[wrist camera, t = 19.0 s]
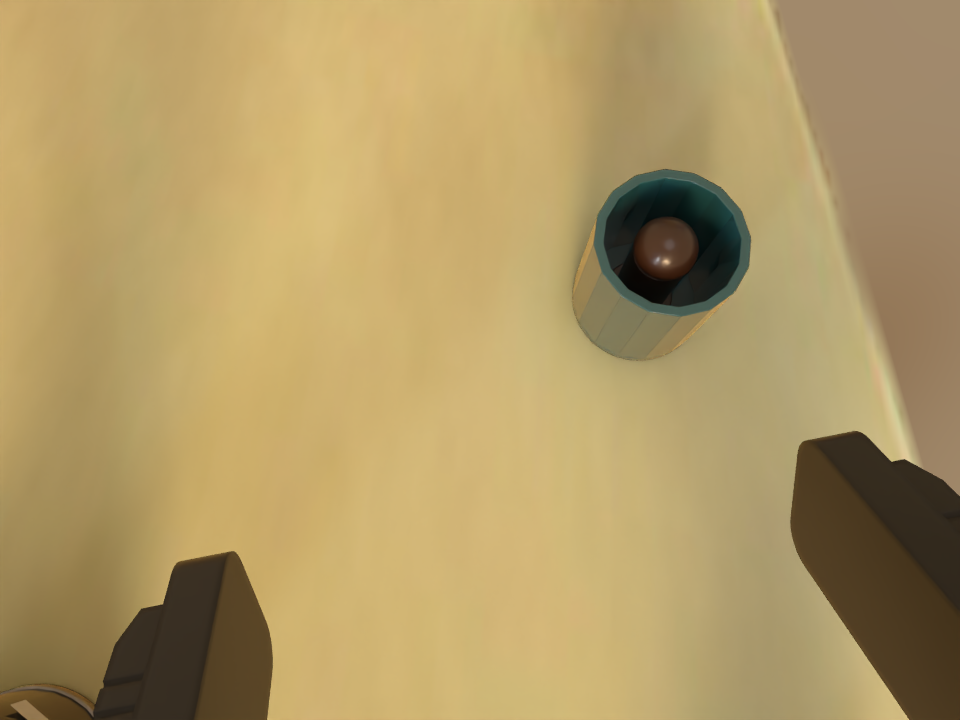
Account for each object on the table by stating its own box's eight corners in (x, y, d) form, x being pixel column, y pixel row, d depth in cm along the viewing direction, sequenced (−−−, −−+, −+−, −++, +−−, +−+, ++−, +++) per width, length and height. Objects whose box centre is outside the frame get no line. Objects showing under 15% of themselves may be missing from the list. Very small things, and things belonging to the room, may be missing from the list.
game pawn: (597, 324, 45) (626, 268, 36) (605, 261, 46) (636, 192, 37) (664, 335, 45) (711, 281, 36) (671, 271, 46) (718, 204, 37)
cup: (564, 350, 45) (585, 302, 37) (580, 232, 47) (604, 159, 38) (692, 370, 45) (744, 326, 36) (704, 250, 47) (756, 181, 38)
